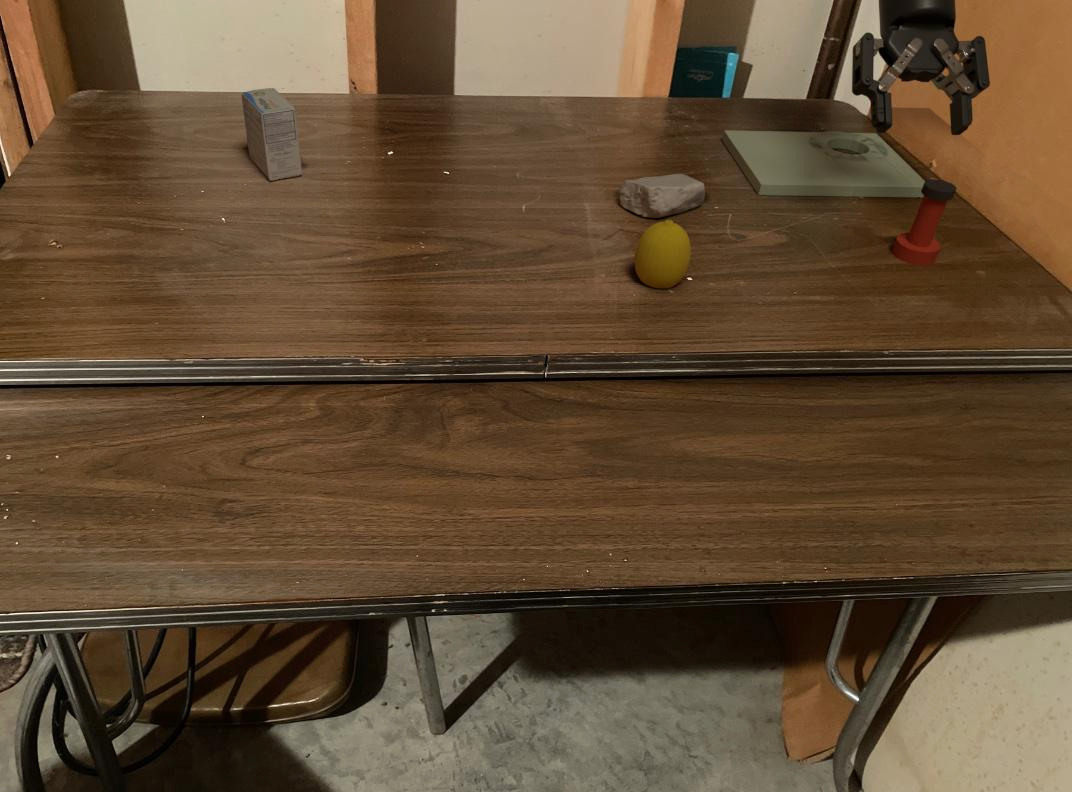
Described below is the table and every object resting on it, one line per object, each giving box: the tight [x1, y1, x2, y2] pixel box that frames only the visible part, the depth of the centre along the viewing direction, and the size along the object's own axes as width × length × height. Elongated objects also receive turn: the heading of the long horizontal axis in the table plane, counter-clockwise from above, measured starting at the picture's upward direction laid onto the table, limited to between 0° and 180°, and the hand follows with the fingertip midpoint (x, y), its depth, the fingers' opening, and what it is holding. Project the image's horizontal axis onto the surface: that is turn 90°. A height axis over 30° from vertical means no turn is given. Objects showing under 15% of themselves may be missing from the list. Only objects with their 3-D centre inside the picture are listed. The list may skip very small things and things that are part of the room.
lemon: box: [634, 219, 692, 290], centre depth 93 cm, size 6×6×8 cm
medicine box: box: [241, 87, 303, 182], centre depth 113 cm, size 8×4×9 cm, turn 28°
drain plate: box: [721, 129, 926, 199], centre depth 122 cm, size 22×18×2 cm
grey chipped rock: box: [619, 173, 706, 219], centre depth 110 cm, size 10×6×6 cm, turn 109°
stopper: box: [891, 178, 958, 266], centre depth 99 cm, size 5×5×10 cm
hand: (922, 131), depth 100 cm, fingers open, 8 cm apart
